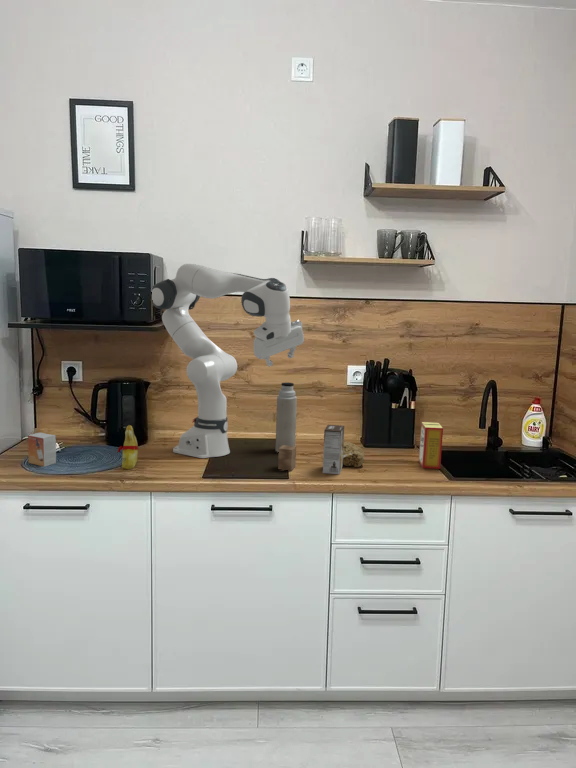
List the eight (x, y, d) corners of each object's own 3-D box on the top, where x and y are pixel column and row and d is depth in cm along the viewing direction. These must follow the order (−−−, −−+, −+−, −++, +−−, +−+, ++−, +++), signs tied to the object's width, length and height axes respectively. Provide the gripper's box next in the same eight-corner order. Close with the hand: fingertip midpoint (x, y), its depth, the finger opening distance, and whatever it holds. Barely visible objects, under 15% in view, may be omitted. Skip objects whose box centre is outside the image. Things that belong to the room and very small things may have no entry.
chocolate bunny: (140, 461, 215) (139, 421, 212) (134, 470, 204) (134, 428, 202) (121, 461, 214) (120, 421, 212) (114, 470, 203) (114, 428, 201)
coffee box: (325, 465, 216) (327, 424, 214) (342, 467, 215) (344, 425, 212) (322, 473, 207) (324, 429, 205) (340, 474, 206) (342, 431, 204)
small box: (28, 463, 208) (27, 435, 206) (40, 459, 213) (39, 431, 211) (44, 467, 204) (43, 438, 203) (56, 463, 209) (55, 434, 208)
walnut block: (278, 469, 210) (278, 448, 208) (282, 466, 214) (283, 445, 213) (291, 471, 208) (291, 450, 207) (295, 467, 213) (296, 446, 212)
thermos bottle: (272, 451, 233) (273, 383, 228) (280, 447, 240) (282, 380, 235) (289, 454, 229) (292, 385, 225) (298, 450, 236) (300, 382, 232)
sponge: (367, 471, 216) (362, 446, 234) (364, 453, 213) (360, 429, 231) (332, 476, 217) (330, 451, 235) (329, 457, 214) (327, 433, 233)
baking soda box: (440, 468, 217) (443, 427, 215) (422, 467, 218) (425, 426, 215) (435, 461, 226) (438, 421, 224) (418, 460, 227) (421, 420, 224)
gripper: (296, 316, 211) (297, 349, 218) (249, 332, 201) (252, 367, 208) (307, 321, 207) (308, 355, 214) (260, 338, 197) (262, 373, 204)
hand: (280, 361), depth 211 cm, fingers open, 8 cm apart
